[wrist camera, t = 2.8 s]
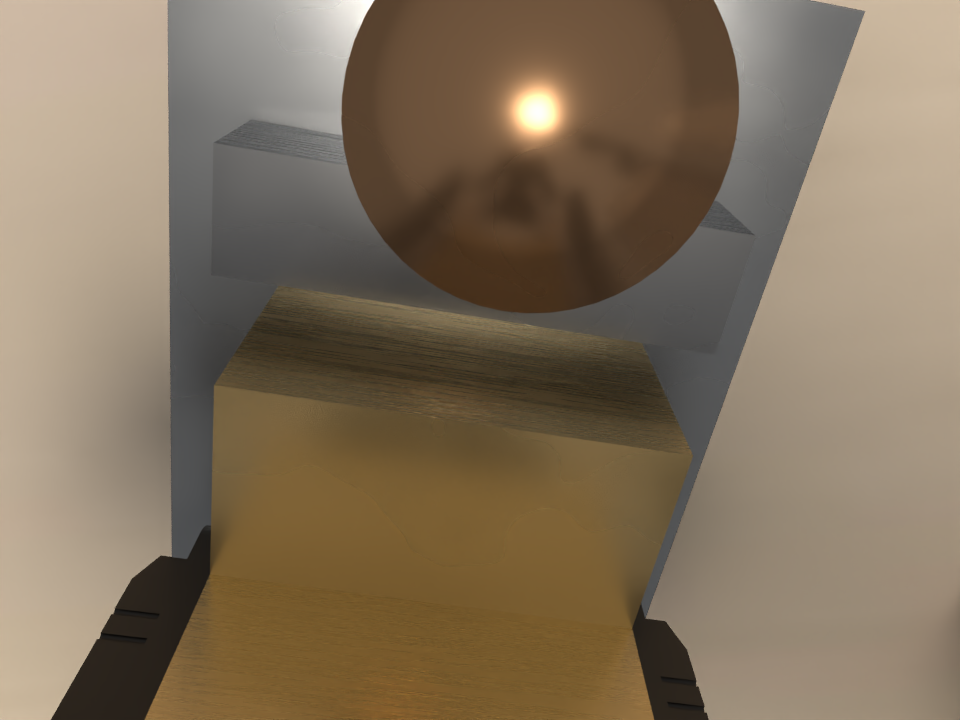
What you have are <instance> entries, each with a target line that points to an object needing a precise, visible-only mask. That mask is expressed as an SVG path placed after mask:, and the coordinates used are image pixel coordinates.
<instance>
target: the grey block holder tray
mask: <svg viewBox="0 0 960 720" xmlns="http://www.w3.org/2000/svg"><path fill="white" fill-rule="evenodd" d="M864 13H865V11H862V10H857V9H852V8H847V7H842V6H836V5H831V4H826V3H821V2H816V1H811V0H168V105H169V237H170V369H171V501H172V557H175V558H183V559H187V558H188V556H189V554H190V552H191V550H192V548H193V546H194V544H195V542H196V540H197V538H198V536H199V534H200V532H201V530H202V529H203V528H204V527H205V526H206V525H209V526H211V503H212V456H213V408H214V385H215V383H216V381H217V380H218V378H219V377H220V375H221V374H222V372H223V371H224V369H225V368H226V366H227V365H228V363H229V361H230V360H231V358H232V357H233V355H234V354H235V352H236V351H237V349H238V348H239V346H240V345H241V343H242V341H243V340H244V338H245V337H246V335H247V334H248V332H249V331H250V329H251V328H252V326H253V325H254V323H255V321H256V320H257V318H258V317H259V315H260V314H261V312H262V311H263V309H264V308H265V306H266V304H267V303H268V301H269V300H270V298H271V297H272V295H273V294H274V292H275V291H276V289H277V288H278V286H285V287H291V288H297V289H304V290H310V291H316V292H323V293H329V294H335V295H342V296H348V297H354V298H361V299H367V300H373V301H379V302H386V303H392V304H398V305H405V306H411V307H417V308H424V309H430V310H436V311H443V312H449V313H455V314H462V315H468V316H474V317H481V318H487V319H493V320H500V321H506V322H512V323H519V324H525V325H531V326H537V327H544V328H550V329H556V330H563V331H569V332H575V333H582V334H588V335H594V336H601V337H607V338H613V339H620V340H626V341H632V342H639V343H642V344H643V347H644V349H645V351H646V353H647V355H648V358H649V360H650V362H651V364H652V366H653V368H654V371H655V373H656V375H657V377H658V379H659V382H660V384H661V386H662V388H663V390H664V393H665V395H666V397H667V399H668V401H669V404H670V406H671V408H672V410H673V412H674V415H675V417H676V419H677V421H678V423H679V426H680V428H681V430H682V432H683V434H684V437H685V439H686V441H687V443H688V445H689V448H690V450H691V452H692V454H693V458H692V461H691V464H690V466H689V469H688V472H687V475H686V478H685V480H684V483H683V486H682V489H681V492H680V495H679V497H678V500H677V503H676V506H675V509H674V511H673V514H672V517H671V520H670V523H669V526H668V528H667V531H666V534H665V537H664V540H663V543H662V545H661V548H660V551H659V554H658V557H657V559H656V562H655V565H654V568H653V571H652V574H651V576H650V579H649V582H648V585H647V588H646V591H645V593H644V596H643V599H642V602H641V605H642V608H643V612H644V616H645V618H646V615H647V612H648V609H649V607H650V604H651V601H652V598H653V596H654V593H655V590H656V587H657V585H658V582H659V579H660V576H661V574H662V571H663V568H664V565H665V562H666V560H667V557H668V554H669V551H670V549H671V546H672V543H673V540H674V538H675V535H676V532H677V529H678V527H679V524H680V521H681V518H682V516H683V513H684V510H685V507H686V504H687V502H688V499H689V496H690V493H691V491H692V488H693V485H694V482H695V480H696V477H697V474H698V471H699V469H700V466H701V463H702V460H703V457H704V455H705V452H706V449H707V446H708V444H709V441H710V438H711V435H712V433H713V430H714V427H715V424H716V422H717V419H718V416H719V413H720V411H721V408H722V405H723V402H724V399H725V397H726V394H727V391H728V388H729V386H730V383H731V380H732V377H733V375H734V372H735V369H736V366H737V364H738V361H739V358H740V355H741V352H742V350H743V347H744V344H745V341H746V339H747V336H748V333H749V330H750V328H751V325H752V322H753V319H754V317H755V314H756V311H757V308H758V306H759V303H760V300H761V297H762V294H763V292H764V289H765V286H766V283H767V281H768V278H769V275H770V272H771V270H772V267H773V264H774V261H775V259H776V256H777V253H778V250H779V247H780V245H781V242H782V239H783V236H784V234H785V231H786V228H787V225H788V223H789V220H790V217H791V214H792V212H793V209H794V206H795V203H796V201H797V198H798V195H799V192H800V189H801V187H802V184H803V181H804V178H805V176H806V173H807V170H808V167H809V165H810V162H811V159H812V156H813V154H814V151H815V148H816V145H817V142H818V140H819V137H820V134H821V131H822V129H823V126H824V123H825V120H826V118H827V115H828V112H829V109H830V107H831V104H832V101H833V98H834V96H835V93H836V90H837V87H838V84H839V82H840V79H841V76H842V73H843V71H844V68H845V65H846V62H847V60H848V57H849V54H850V51H851V49H852V46H853V43H854V40H855V37H856V35H857V32H858V29H859V26H860V24H861V21H862V18H863V15H864Z"/></svg>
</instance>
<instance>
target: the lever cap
mask: <svg viewBox="0 0 960 720" xmlns="http://www.w3.org/2000/svg"><path fill="white" fill-rule="evenodd" d="M692 458H693V454H692V452H691V450H690V448H689V445H688V443H687V441H686V439H685V437H684V434H683V432H682V430H681V428H680V426H679V423H678V421H677V419H676V417H675V415H674V412H673V410H672V408H671V406H670V404H669V401H668V399H667V397H666V395H665V393H664V390H663V388H662V386H661V384H660V382H659V379H658V377H657V375H656V373H655V371H654V368H653V366H652V364H651V362H650V360H649V358H648V355H647V353H646V351H645V349H644V347H643V344H642V343H639V342H632V341H626V340H620V339H613V338H607V337H601V336H594V335H588V334H582V333H575V332H569V331H563V330H556V329H550V328H544V327H537V326H531V325H525V324H519V323H512V322H506V321H500V320H493V319H487V318H481V317H474V316H468V315H462V314H455V313H449V312H443V311H436V310H430V309H424V308H417V307H411V306H405V305H398V304H392V303H386V302H379V301H373V300H367V299H361V298H354V297H348V296H342V295H335V294H329V293H323V292H316V291H310V290H304V289H297V288H291V287H285V286H278V288H277V289H276V291H275V292H274V294H273V295H272V297H271V298H270V300H269V301H268V303H267V304H266V306H265V308H264V309H263V311H262V312H261V314H260V315H259V317H258V318H257V320H256V321H255V323H254V325H253V326H252V328H251V329H250V331H249V332H248V334H247V335H246V337H245V338H244V340H243V341H242V343H241V345H240V346H239V348H238V349H237V351H236V352H235V354H234V355H233V357H232V358H231V360H230V361H229V363H228V365H227V366H226V368H225V369H224V371H223V372H222V374H221V375H220V377H219V378H218V380H217V381H216V383H215V385H214V408H213V456H212V503H211V551H210V575H209V578H208V580H207V582H206V584H205V587H204V589H203V591H202V593H201V595H200V598H199V600H198V602H197V604H196V607H195V609H194V611H193V613H192V615H191V618H190V620H189V622H188V624H187V627H186V629H185V631H184V633H183V636H182V638H181V640H180V642H179V644H178V647H177V649H176V651H175V653H174V656H173V658H172V660H171V662H170V664H169V667H168V669H167V671H166V673H165V676H164V678H163V680H162V682H161V684H160V687H159V689H158V691H157V693H156V696H155V698H154V700H153V702H152V704H151V707H150V709H149V711H148V713H147V716H146V718H145V720H654V717H653V713H652V709H651V705H650V700H649V696H648V692H647V688H646V684H645V680H644V675H643V671H642V667H641V663H640V659H639V655H638V650H637V646H636V642H635V638H634V634H633V630H632V627H633V624H634V622H635V619H636V616H637V613H638V610H639V607H640V605H641V602H642V599H643V596H644V593H645V591H646V588H647V585H648V582H649V579H650V576H651V574H652V571H653V568H654V565H655V562H656V559H657V557H658V554H659V551H660V548H661V545H662V543H663V540H664V537H665V534H666V531H667V528H668V526H669V523H670V520H671V517H672V514H673V511H674V509H675V506H676V503H677V500H678V497H679V495H680V492H681V489H682V486H683V483H684V480H685V478H686V475H687V472H688V469H689V466H690V464H691V461H692Z"/></svg>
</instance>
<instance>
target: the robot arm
mask: <svg viewBox="0 0 960 720" xmlns="http://www.w3.org/2000/svg"><path fill="white" fill-rule="evenodd" d="M210 551H211V526H209V525H206V526H205V527H204V528H203V529H202V530H201V532H200V534H199V536H198V538H197V540H196V542H195V544H194V546H193V548H192V550H191V552H190V554H189V556H188V558H187V559H183V558H175V557H167V556H160V557H159V558H157V559H156V560H155V561H154V562H152V563H151V564H150V565H149V566H147V567H146V568H145V569H144V570H142V571H141V572H140V573H139V574H137V575H136V576H135V577H134V578H132V580H131V581H130V583H129V585H128V587H127V588H126V590H125V592H124V593H123V595H122V597H121V599H120V600H119V602H118V604H117V606H116V607H115V611H114V614H111V616H110V618H109V620H108V621H107V623H106V625H105V627H104V628H103V630H102V632H101V636H100V639H97V640H96V642H95V644H94V646H93V647H92V649H91V651H90V653H89V654H88V656H87V658H86V660H85V661H84V663H83V665H82V667H81V668H80V670H79V672H78V674H77V675H76V677H75V679H74V681H73V682H72V684H71V686H70V687H69V689H68V691H67V693H66V694H65V696H64V698H63V700H62V701H61V703H60V705H59V707H58V708H57V710H56V712H55V714H54V715H53V717H52V719H51V720H145V718H146V716H147V713H148V711H149V709H150V707H151V704H152V702H153V700H154V698H155V696H156V693H157V691H158V689H159V687H160V684H161V682H162V680H163V678H164V676H165V673H166V671H167V669H168V667H169V664H170V662H171V660H172V658H173V656H174V653H175V651H176V649H177V647H178V644H179V642H180V640H181V638H182V636H183V633H184V631H185V629H186V627H187V624H188V622H189V620H190V618H191V615H192V613H193V611H194V609H195V607H196V604H197V602H198V600H199V598H200V595H201V593H202V591H203V589H204V587H205V584H206V582H207V580H208V578H209V575H210ZM632 630H633V634H634V638H635V642H636V646H637V650H638V655H639V659H640V663H641V667H642V671H643V675H644V680H645V684H646V688H647V692H648V696H649V700H650V705H651V709H652V713H653V717H654V720H709V719H708V716H707V713H704V703H703V700H702V697H701V694H700V690H699V687H696V678H695V675H694V671H693V668H692V665H691V662H690V659H689V655H688V652H687V649H686V648H685V647H684V645H683V644H682V643H681V642H680V640H679V639H678V638H677V636H676V635H675V634H674V632H673V631H672V630H671V628H670V627H669V626H668V624H667V623H666V622H665V621H659V620H651V619H645V616H644V612H643V608H642V605H640V607H639V610H638V613H637V616H636V619H635V622H634V624H633V627H632Z"/></svg>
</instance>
